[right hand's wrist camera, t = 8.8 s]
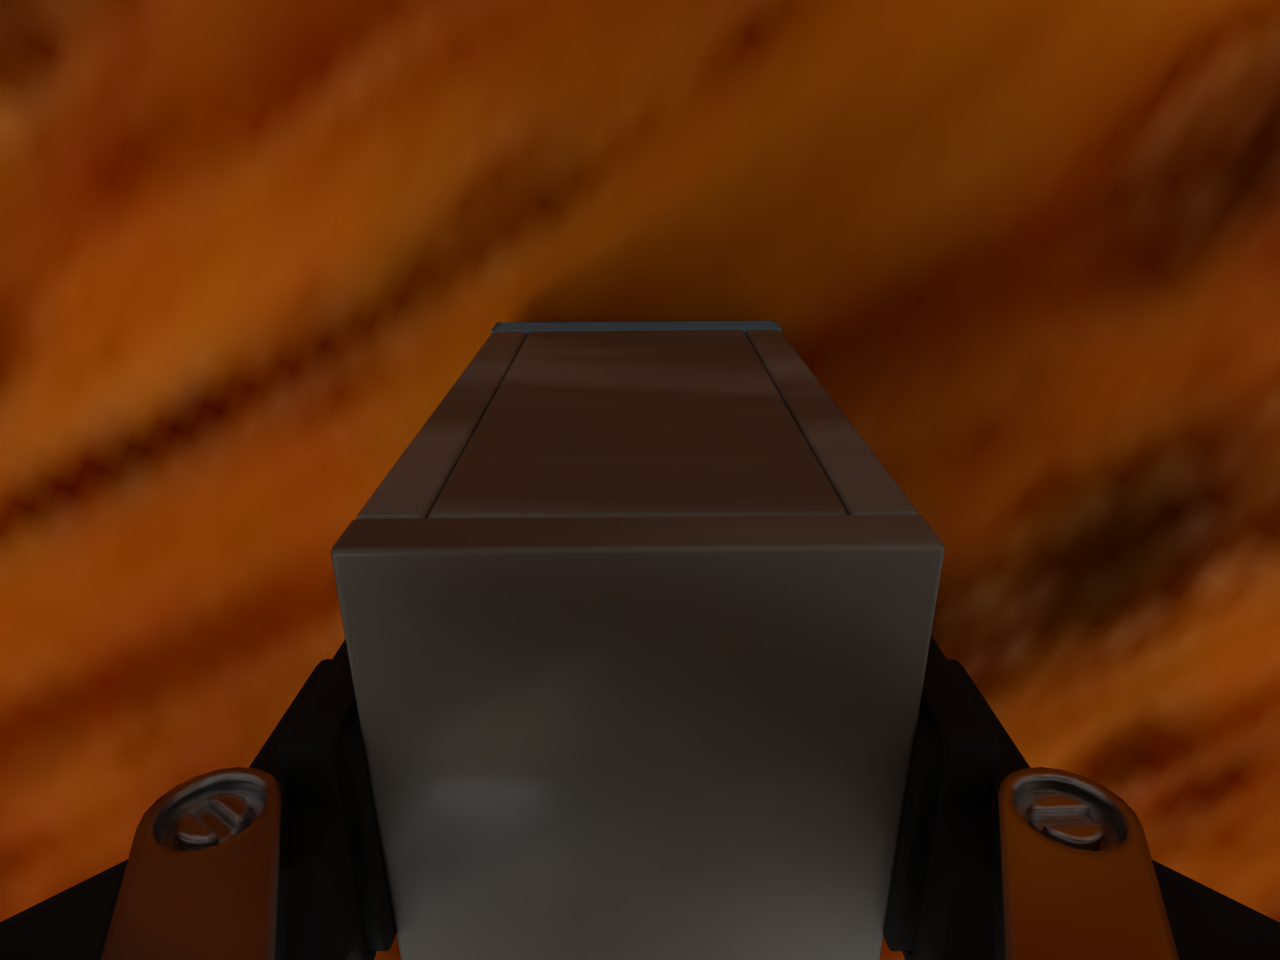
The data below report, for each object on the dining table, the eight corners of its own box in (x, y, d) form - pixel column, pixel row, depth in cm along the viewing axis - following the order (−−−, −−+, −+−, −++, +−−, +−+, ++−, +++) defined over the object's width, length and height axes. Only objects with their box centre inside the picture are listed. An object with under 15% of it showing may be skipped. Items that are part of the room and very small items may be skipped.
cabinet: (742, 869, 23) (817, 1370, 13) (537, 871, 23) (471, 1374, 13) (775, 321, 17) (949, 543, 7) (496, 322, 17) (325, 548, 7)
